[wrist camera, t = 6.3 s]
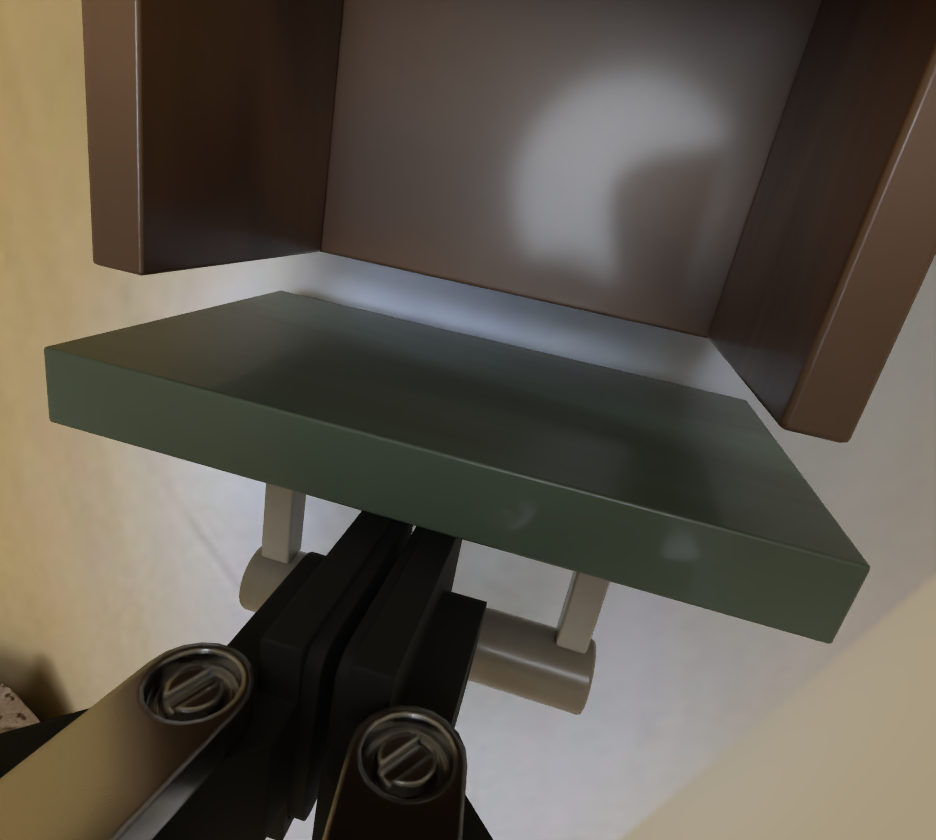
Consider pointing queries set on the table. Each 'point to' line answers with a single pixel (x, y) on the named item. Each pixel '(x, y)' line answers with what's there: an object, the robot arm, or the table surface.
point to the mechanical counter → (13, 711)
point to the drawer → (520, 276)
